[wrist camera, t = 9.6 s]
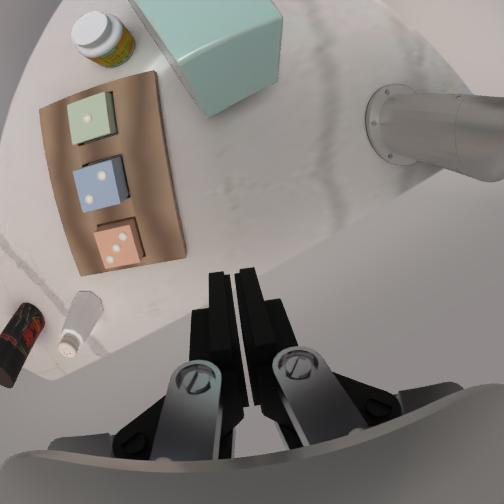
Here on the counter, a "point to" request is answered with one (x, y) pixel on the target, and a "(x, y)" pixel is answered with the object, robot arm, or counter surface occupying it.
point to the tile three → (119, 242)
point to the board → (136, 167)
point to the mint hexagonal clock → (217, 46)
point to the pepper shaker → (79, 322)
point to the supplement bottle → (102, 39)
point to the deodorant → (18, 341)
